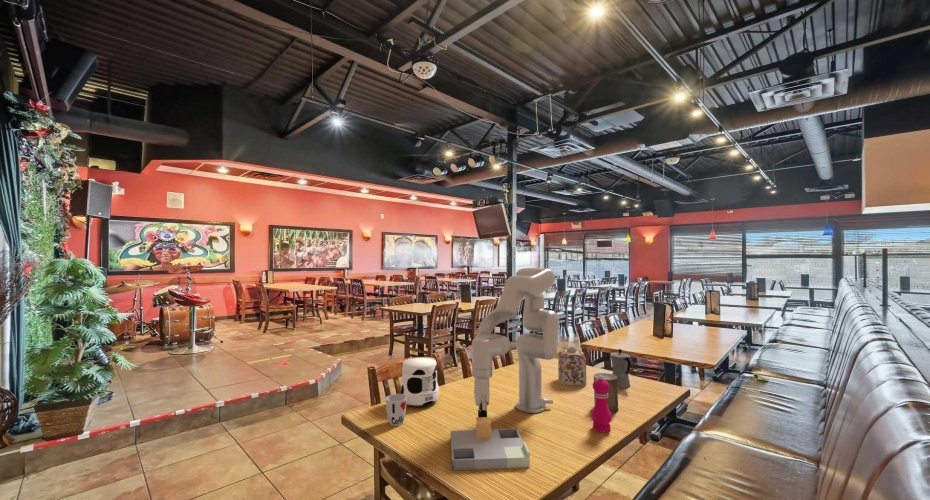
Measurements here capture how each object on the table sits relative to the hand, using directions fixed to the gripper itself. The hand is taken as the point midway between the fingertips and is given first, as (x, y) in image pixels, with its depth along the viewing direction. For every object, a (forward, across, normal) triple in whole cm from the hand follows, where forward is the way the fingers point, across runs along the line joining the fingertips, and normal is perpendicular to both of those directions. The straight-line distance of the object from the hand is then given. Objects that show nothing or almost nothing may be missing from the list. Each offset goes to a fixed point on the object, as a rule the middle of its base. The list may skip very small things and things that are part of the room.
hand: (482, 421), depth 142 cm
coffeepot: (+4, -46, +75) cm, 88 cm away
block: (+1, +8, 0) cm, 8 cm away
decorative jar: (+4, -53, +52) cm, 74 cm away
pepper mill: (+4, 0, +45) cm, 45 cm away
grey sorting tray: (+4, +14, 0) cm, 15 cm away
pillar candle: (+4, -19, +55) cm, 58 cm away
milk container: (+4, -32, -25) cm, 41 cm away
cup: (+4, -11, -33) cm, 35 cm away
